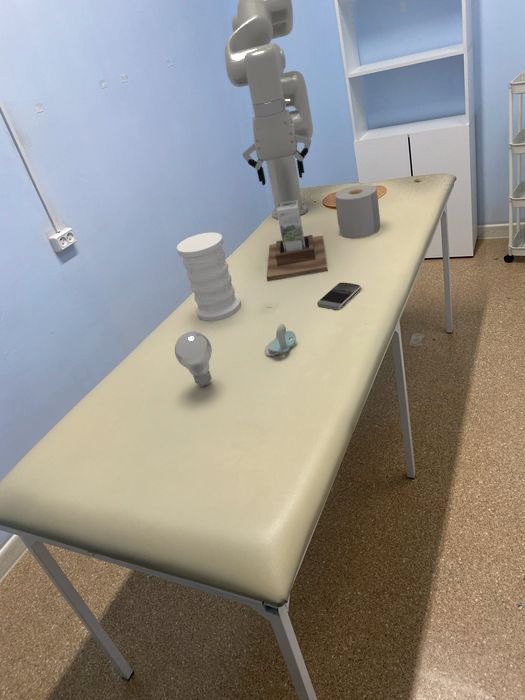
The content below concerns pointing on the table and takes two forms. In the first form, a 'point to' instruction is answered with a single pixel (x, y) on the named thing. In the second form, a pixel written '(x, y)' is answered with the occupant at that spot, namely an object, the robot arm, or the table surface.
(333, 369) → the table surface
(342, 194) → the toilet paper roll
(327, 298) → the cell phone
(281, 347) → the pacifier
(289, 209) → the syrup box
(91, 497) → the table surface
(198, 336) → the light bulb
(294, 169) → the robot arm
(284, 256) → the stand
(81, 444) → the table surface
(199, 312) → the decorative container
